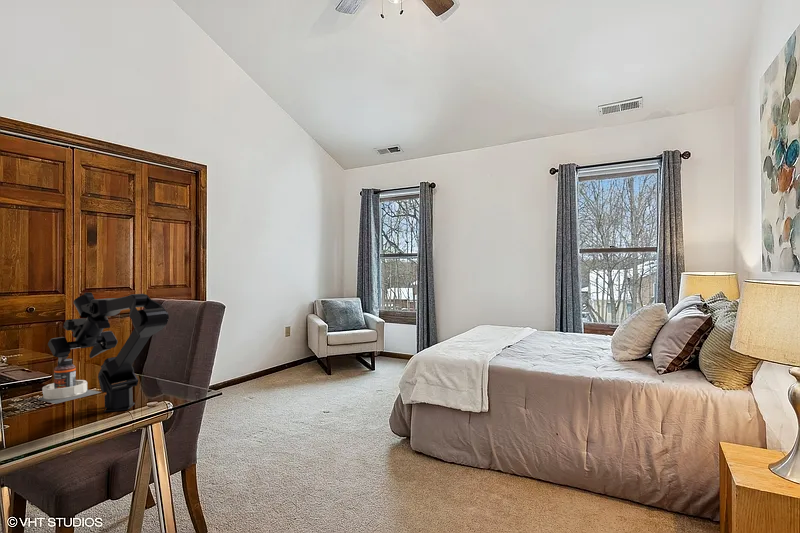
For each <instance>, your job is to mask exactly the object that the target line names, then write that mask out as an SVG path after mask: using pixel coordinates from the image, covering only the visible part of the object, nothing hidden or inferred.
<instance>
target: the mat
mask: <svg viewBox="0 0 800 533" xmlns="http://www.w3.org/2000/svg"><path fill="white" fill-rule="evenodd" d="M101 393H102V391H98V390H94V389H93V390H92V389H88V388H87V392H86V393H84V394H82V395H79V396H76V397H71V398H66V399H58V400H45V399H43V397H42V398H39V399H38V400H39V401H41V402H42V401H43V402H45V403H46V402H47V403H51V404H55V405H57V404H60V403H65V402H68V401H72V400H76V399H81V398H85V397H88V396H93V395H97V394H101Z"/></svg>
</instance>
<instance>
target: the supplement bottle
mask: <svg viewBox="0 0 800 533" xmlns="http://www.w3.org/2000/svg"><path fill="white" fill-rule="evenodd" d="M76 370H77V368H76V365H75V364H73V358H66V359H65V360H64V361H63V362H62V363H59V360H57V366H55V367H54V368H53V372H54V373H53V378H54V379H53V383H54V389H56V388H66V387H72V386H76V380H77V376H76V375H77V374H76V372H77V371H76Z"/></svg>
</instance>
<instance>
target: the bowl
mask: <svg viewBox="0 0 800 533" xmlns="http://www.w3.org/2000/svg"><path fill="white" fill-rule="evenodd" d="M87 389H88V381H87V380H85V379H76V386H72V387H66V388H56V389H54V382H53V383H49V384H47V385H44V386H42V394H43V399H45V400H58V399H66V398H71V397H76V396H79V395H82V394H84V393H86V392H87Z"/></svg>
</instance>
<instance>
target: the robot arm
mask: <svg viewBox="0 0 800 533" xmlns="http://www.w3.org/2000/svg"><path fill="white" fill-rule="evenodd" d="M73 305H74V307H75V308H76V310H77V312H78V314H79V316H80V317H81V318H73V319H66V320H65V321H64V322H63V326H62V327H63V329H64V330H65V331H67V332H68V331H71V332H72V334H71V335H72V337H73V338H75V339H74V340H73V341H68V340H67V337H64V336H60V337H53V338H50V339H49V340H48V343H47V346H48V347H49V350H50V352H51V353H52V356H53V357H55V358H58V360H59V363H62V362H63V361H64V360H65V359H68V358H69V356H70V355H69V354H71V350H74V349H86V348H92V349H91V350H90V352H89V356H88V357H89V359H93V358H94V357H96V356H98V355H99V354H102V353H104V352H106V351H108V350H111V349H112V348H113V349H114V348H116V346H117V344H118V343H119V342H118V339H117V337H116V335H115V334H114V332H113V330H105V329H110V328H111V324H110V322H109V318H108V317H112V316H117V315H118V314H120V313H121V311H126V310H129V315H128V316H129V318H130V320H131V322H132V325H133V330H132V331H131V333H130V335H129V336H128V338H127V339H126V340H125V343H124V344H123V346H122V347H121V349H120V350H119V352H117V353H118V354H117V355H116V356H114V357H113V356H112V357H107V358H106V359H105V360H104V362H103V364H102V365H100V369H99V371H98V376H97V378H98V383H99V389H100V392H101V393H106V394H105V395H104V412H105V413H107V412H119V411H128V410H129V409H131V408H132V407H133V406H135V405H136V403H135V402H134V401H133V398H134V397H133V395H134V394H133V392H134V391H133V387H137V386H138V385H139V378H138V377H137V375H136V374H135V370H134V367H133V364H134V362H135V360H136V359H137V357H138V356H139V355H140V353H141V351H143V349H144V347H145V345H146V344H147V343H148V341H149V339H150V338H151V337H152V336H153V335H155V334H157V333H159V332H160V331H162V330H163V329H164V328H165V327H166V326H167V325H168V323H169V319H170V318H169V317H170V315H169V313H168V311H167V310H166V309H165V307H164V306H163V305H162V304H161V303H158V302H157V301H155V300H153V299H152V298H150V297H149V295H148V294H145V293H134V294H133V293H132V294H129V295H126V296H122V297H110V298H109V297H108V298H95V297H94V294H93V293H92V292H84V294H82V295H80V296H77V297H76V298H75V299H74V300H73ZM137 308H144V309H139V310H138V309H137ZM104 330H105V331H104ZM58 360H57V361H58Z"/></svg>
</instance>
